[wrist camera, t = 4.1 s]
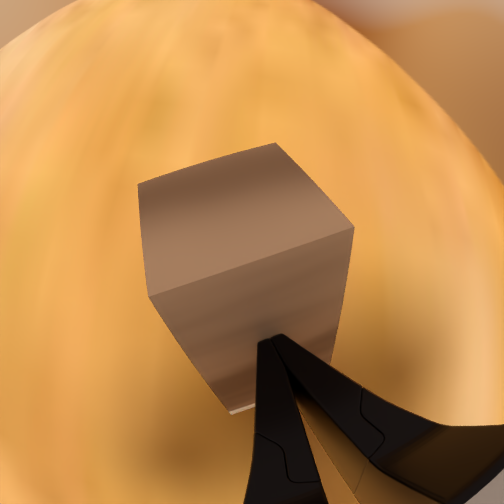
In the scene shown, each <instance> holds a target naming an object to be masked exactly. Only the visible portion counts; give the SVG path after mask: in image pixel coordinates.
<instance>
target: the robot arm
mask: <svg viewBox="0 0 504 504" xmlns="http://www.w3.org/2000/svg"><path fill="white" fill-rule="evenodd" d="M298 408H299V409H298ZM299 410H300V411H301V413H302V414H303V416H304V418H305V419H306V421H307V422H308V424H309V426H310V427H311V429H312V431H313V432H314V434H315V435H316V437H317V438H318V440H319V442H320V443H321V445H322V446H323V448H324V450H325V451H326V453H327V454H328V456H329V457H330V459H331V460H332V462H333V464H334V465H335V467H336V468H337V470H338V471H339V473H340V474H341V476H342V477H343V479H344V480H345V482H346V483H347V485H348V486H349V488H350V489H351V491H352V492H353V494H354V496H355V497H356V498H357V500H358V501H359V503H360V504H504V424H502V425H486V426H448V425H443V424H439V423H436V422H433V421H430V420H428V419H426V418H423V417H421V416H419V415H416V414H414V413H412V412H409V411H407V410H405V409H403V408H400V407H398V406H396V405H394V404H392V403H390V402H388V401H386V400H384V399H382V398H381V397H379V396H377V395H376V394H374V393H372V392H371V391H369V390H368V389H366V388H364V387H363V388H362V386H361V385H360V384H358V383H356V382H355V381H353V380H352V379H350V378H349V377H347V376H346V375H344V374H343V373H341V372H339V371H338V370H336V369H335V368H333V367H332V366H330V365H329V364H327V363H326V362H324V361H323V360H321V359H320V358H318V357H317V356H315V355H314V354H312V353H311V352H309V351H308V350H306V349H305V348H304V347H302V346H301V345H299V344H298V343H296V342H295V341H293V340H292V339H290V338H289V337H287V336H286V335H285V334H283V333H280V334H277V335H275V336H272V337H271V338H270V339H269V338H267V339H264V340H261V341H259V342H258V343H257V360H256V389H255V417H254V439H253V454H252V463H251V469H250V475H249V480H248V485H247V489H246V494H245V499H244V503H243V504H329V503H328V501H327V498H326V495H325V492H324V489H323V486H322V483H321V479H320V476H319V473H318V470H317V467H316V464H315V460H314V457H313V454H312V451H311V448H310V444H309V441H308V438H307V435H306V432H305V428H304V425H303V422H302V419H301V416H300V412H299Z"/></svg>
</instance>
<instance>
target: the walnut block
mask: <svg viewBox="0 0 504 504" xmlns="http://www.w3.org/2000/svg"><path fill="white" fill-rule="evenodd" d="M138 198H139V213H140V226H141V237H142V248H143V257H144V266H145V275H146V283H147V290H148V297H149V299H150V300H151V302H152V303H153V305H154V307H155V308H156V310H157V311H158V313H159V314H160V316H161V318H162V319H163V321H164V322H165V324H166V325H167V327H168V328H169V330H170V331H171V333H172V334H173V336H174V337H175V339H176V340H177V342H178V343H179V345H180V346H181V348H182V349H183V350H184V352H185V353H186V355H187V356H188V358H189V359H190V360H191V362H192V363H193V365H194V366H195V368H196V369H197V370H198V372H199V373H200V374H201V376H202V377H203V379H204V380H205V381H206V383H207V384H208V385H209V387H210V388H211V389H212V391H213V392H214V393H215V395H216V396H217V397H218V398H219V400H220V401H221V402H222V404H223V405H224V406H225V407H226V409H227V410H228V411H229V413H230V414H231V415H232V414H235V413H238V412H241V411H244V410H247V409H250V408H253V407H255V389H256V360H257V343H258V342H259V341H261V340H264V339H267V338H269V339H270V338H271V337H272V336H275V335H277V334H280V333H283V334H285V335H286V336H287V337H289V338H290V339H292V340H293V341H295V342H296V343H298V344H299V345H301V346H302V347H304V348H305V349H306V350H308V351H309V352H311V353H312V354H314V355H315V356H317V357H318V358H320V359H321V360H323V361H324V362H326V363H327V364H329V365H330V361H331V357H332V353H333V348H334V343H335V339H336V334H337V329H338V324H339V319H340V314H341V309H342V303H343V298H344V292H345V286H346V281H347V274H348V268H349V262H350V255H351V248H352V241H353V234H354V226H353V224H352V223H351V222H350V221H349V220H348V219H347V218H346V216H345V215H344V214H343V213H342V212H341V211H340V210H339V209H338V207H337V206H336V205H335V204H334V203H333V202H332V201H331V200H330V199H329V198H328V196H327V195H326V194H325V193H324V192H323V191H322V190H321V189H320V188H319V187H318V186H317V185H316V184H315V182H314V181H313V180H312V179H311V178H310V177H309V176H308V175H307V174H306V173H305V172H304V171H303V170H302V169H301V168H300V167H299V166H298V165H297V164H296V163H295V162H294V161H293V160H292V159H291V158H290V157H289V156H288V155H287V154H286V153H285V152H284V151H283V150H282V149H281V148H280V147H279V146H278V145H277V144H276V143H272V144H268V145H264V146H260V147H256V148H252V149H249V150H245V151H241V152H237V153H234V154H230V155H227V156H223V157H220V158H216V159H213V160H210V161H206V162H203V163H200V164H196V165H193V166H190V167H187V168H184V169H180V170H177V171H174V172H171V173H168V174H165V175H162V176H159V177H156V178H154V179H151V180H148V181H145V182H142V183H139V184H138Z"/></svg>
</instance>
